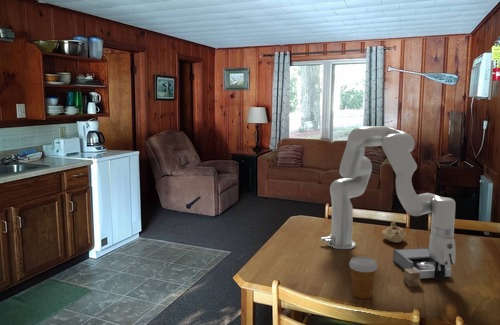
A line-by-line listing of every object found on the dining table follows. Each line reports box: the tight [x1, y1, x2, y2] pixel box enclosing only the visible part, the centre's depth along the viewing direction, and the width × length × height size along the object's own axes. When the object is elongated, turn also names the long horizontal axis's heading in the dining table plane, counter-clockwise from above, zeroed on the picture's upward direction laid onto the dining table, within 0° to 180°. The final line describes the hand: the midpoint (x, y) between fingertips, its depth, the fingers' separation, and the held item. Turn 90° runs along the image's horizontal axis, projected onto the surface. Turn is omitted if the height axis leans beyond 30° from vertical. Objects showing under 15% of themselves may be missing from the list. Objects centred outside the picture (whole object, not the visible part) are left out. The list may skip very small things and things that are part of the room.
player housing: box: [392, 247, 431, 270], centre depth 161 cm, size 15×14×5 cm
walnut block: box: [403, 268, 421, 287], centre depth 146 cm, size 4×4×5 cm
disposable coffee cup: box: [348, 256, 378, 299], centre depth 138 cm, size 10×10×12 cm
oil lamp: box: [381, 221, 407, 244], centre depth 191 cm, size 11×15×8 cm
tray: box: [411, 259, 452, 279], centre depth 156 cm, size 12×14×3 cm
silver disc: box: [415, 260, 435, 270], centre depth 157 cm, size 7×7×2 cm
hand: (439, 279), depth 147 cm, fingers closed
